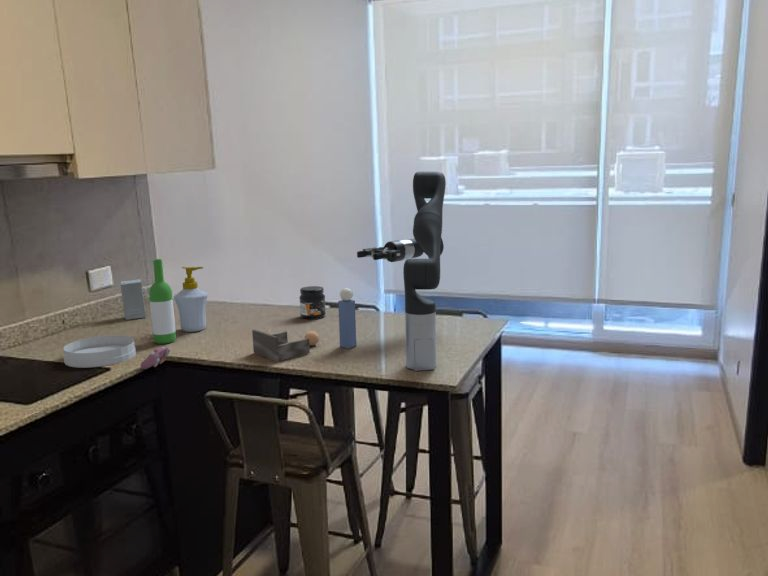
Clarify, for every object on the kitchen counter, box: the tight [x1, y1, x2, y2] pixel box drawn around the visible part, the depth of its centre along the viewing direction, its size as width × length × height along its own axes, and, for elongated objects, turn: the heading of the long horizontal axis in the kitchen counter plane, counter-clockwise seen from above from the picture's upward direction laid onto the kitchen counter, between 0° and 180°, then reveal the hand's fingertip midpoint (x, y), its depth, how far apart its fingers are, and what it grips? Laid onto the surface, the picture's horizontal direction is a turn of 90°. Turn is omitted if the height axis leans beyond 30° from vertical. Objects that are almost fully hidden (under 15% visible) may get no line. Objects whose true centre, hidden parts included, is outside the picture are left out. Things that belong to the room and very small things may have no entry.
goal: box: [251, 329, 311, 363], centre depth 213 cm, size 13×14×8 cm
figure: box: [337, 287, 357, 349], centre depth 218 cm, size 4×4×20 cm
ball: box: [304, 330, 320, 347], centre depth 222 cm, size 5×5×5 cm
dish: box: [63, 334, 137, 369], centre depth 214 cm, size 22×22×5 cm
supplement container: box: [298, 285, 327, 320], centre depth 263 cm, size 10×10×12 cm
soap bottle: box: [173, 266, 209, 333], centre depth 246 cm, size 13×13×25 cm
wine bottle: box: [148, 258, 177, 345], centre depth 229 cm, size 8×8×30 cm
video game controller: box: [140, 346, 171, 370], centre depth 204 cm, size 10×5×7 cm, turn 169°
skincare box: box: [119, 279, 147, 321], centre depth 269 cm, size 8×7×16 cm
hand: (365, 255), depth 223 cm, fingers open, 8 cm apart
